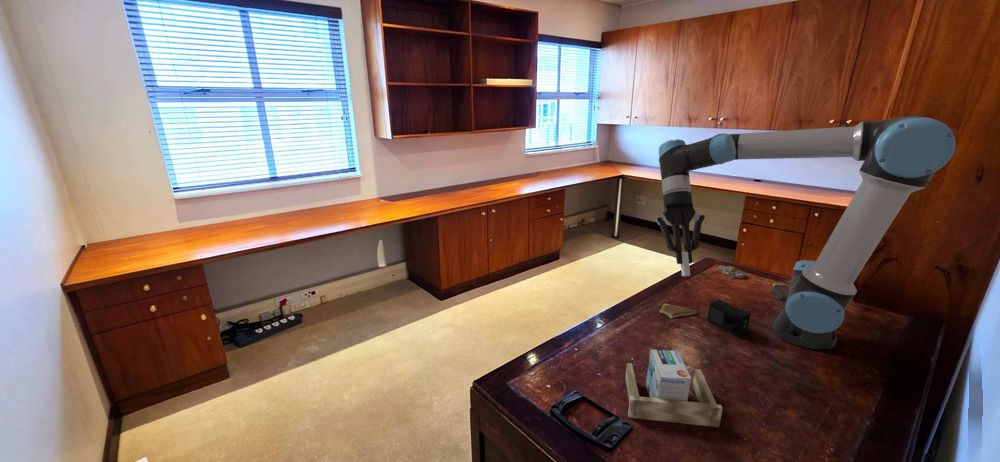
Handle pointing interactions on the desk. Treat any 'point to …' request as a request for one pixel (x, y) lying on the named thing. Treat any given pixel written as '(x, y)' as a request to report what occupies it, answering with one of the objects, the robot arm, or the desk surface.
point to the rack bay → (674, 404)
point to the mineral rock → (731, 272)
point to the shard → (676, 311)
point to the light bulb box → (667, 376)
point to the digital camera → (728, 317)
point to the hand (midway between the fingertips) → (686, 275)
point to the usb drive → (781, 292)
